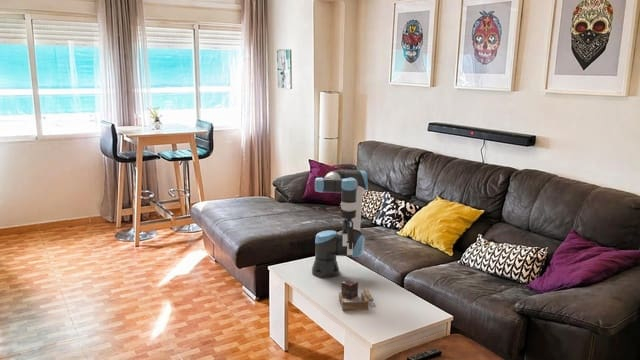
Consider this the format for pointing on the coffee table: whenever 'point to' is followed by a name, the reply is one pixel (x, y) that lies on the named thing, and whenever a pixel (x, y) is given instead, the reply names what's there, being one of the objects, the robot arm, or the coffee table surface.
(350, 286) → the box
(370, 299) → the scraper
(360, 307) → the box
